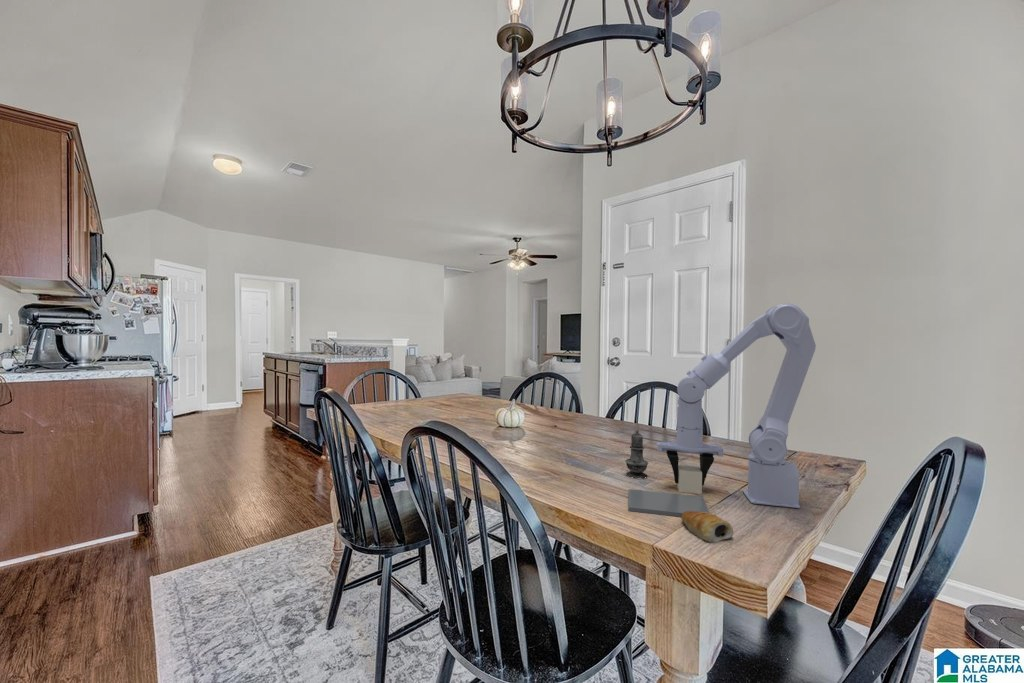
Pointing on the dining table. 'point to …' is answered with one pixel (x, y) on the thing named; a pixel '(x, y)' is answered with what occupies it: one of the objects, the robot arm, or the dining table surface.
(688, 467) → the block
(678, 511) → the board
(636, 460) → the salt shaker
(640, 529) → the dining table surface
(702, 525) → the pastry
